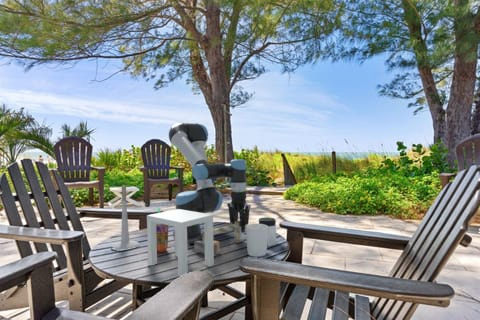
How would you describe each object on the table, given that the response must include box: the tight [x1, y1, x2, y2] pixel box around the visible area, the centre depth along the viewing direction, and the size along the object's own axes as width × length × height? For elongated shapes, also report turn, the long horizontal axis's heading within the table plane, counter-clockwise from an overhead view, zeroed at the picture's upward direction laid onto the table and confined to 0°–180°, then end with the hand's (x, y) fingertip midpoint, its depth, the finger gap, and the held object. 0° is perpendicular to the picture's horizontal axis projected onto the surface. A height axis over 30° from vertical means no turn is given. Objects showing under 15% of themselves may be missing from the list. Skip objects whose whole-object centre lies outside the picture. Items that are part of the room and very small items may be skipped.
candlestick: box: [111, 184, 140, 249], centre depth 143 cm, size 13×13×30 cm
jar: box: [258, 216, 277, 247], centre depth 145 cm, size 9×8×12 cm
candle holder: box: [245, 223, 268, 258], centre depth 131 cm, size 10×10×12 cm
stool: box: [146, 208, 215, 277], centre depth 119 cm, size 21×16×20 cm
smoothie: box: [156, 207, 170, 254], centre depth 136 cm, size 8×8×20 cm
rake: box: [193, 219, 245, 257], centre depth 139 cm, size 26×12×10 cm, turn 141°
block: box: [203, 239, 221, 255], centre depth 132 cm, size 5×5×5 cm
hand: (239, 238), depth 148 cm, fingers closed on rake, 2 cm apart
